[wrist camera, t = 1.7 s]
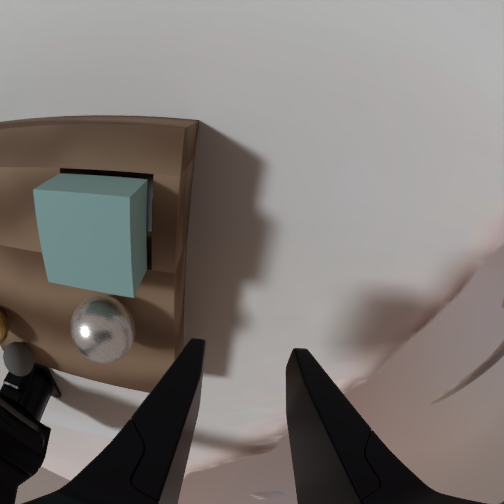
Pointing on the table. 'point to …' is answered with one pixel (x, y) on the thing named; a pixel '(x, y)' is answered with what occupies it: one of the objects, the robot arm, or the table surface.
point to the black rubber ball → (18, 358)
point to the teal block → (93, 231)
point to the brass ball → (3, 327)
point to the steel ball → (102, 329)
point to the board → (157, 242)
